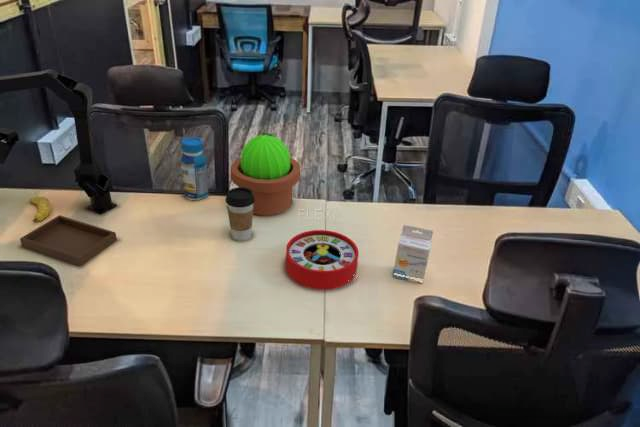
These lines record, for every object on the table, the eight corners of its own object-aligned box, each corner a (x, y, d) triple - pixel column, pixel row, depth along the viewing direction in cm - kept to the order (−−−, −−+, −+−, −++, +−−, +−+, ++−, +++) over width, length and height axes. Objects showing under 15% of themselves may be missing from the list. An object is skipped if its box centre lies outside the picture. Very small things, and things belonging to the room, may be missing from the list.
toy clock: (312, 222, 152) (371, 245, 143) (311, 238, 155) (369, 262, 146) (271, 254, 137) (334, 282, 128) (271, 271, 140) (332, 300, 131)
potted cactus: (275, 227, 159) (276, 154, 146) (219, 207, 167) (215, 137, 154) (309, 198, 176) (313, 130, 163) (257, 181, 184) (256, 116, 171)
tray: (117, 240, 149) (115, 232, 147) (80, 266, 137) (78, 258, 136) (61, 222, 155) (59, 214, 153) (22, 246, 144) (19, 238, 142)
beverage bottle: (210, 200, 171) (206, 145, 161) (184, 202, 169) (178, 146, 159) (208, 188, 178) (204, 134, 168) (183, 189, 176) (178, 136, 166)
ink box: (392, 277, 140) (399, 233, 133) (395, 267, 145) (402, 223, 137) (422, 284, 138) (431, 240, 131) (425, 274, 143) (434, 230, 135)
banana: (52, 221, 155) (50, 212, 154) (32, 225, 153) (29, 215, 151) (49, 198, 167) (46, 189, 165) (30, 201, 164) (27, 192, 162)
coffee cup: (222, 238, 152) (219, 195, 144) (236, 225, 159) (234, 182, 151) (246, 246, 150) (245, 202, 142) (260, 231, 156) (259, 189, 149)
